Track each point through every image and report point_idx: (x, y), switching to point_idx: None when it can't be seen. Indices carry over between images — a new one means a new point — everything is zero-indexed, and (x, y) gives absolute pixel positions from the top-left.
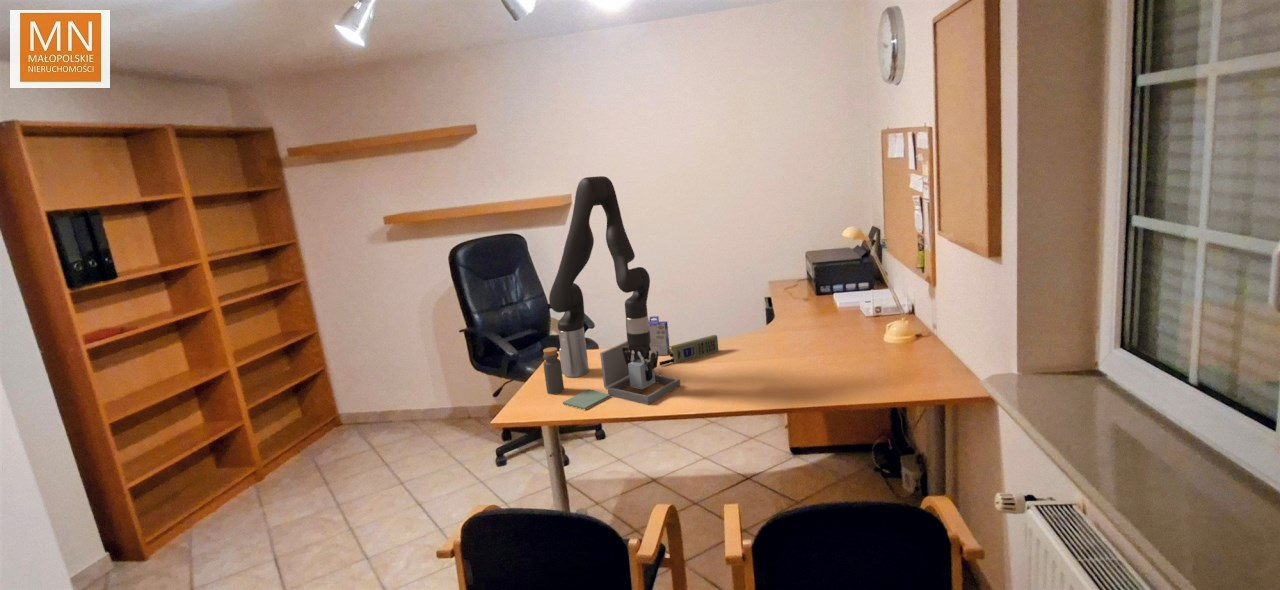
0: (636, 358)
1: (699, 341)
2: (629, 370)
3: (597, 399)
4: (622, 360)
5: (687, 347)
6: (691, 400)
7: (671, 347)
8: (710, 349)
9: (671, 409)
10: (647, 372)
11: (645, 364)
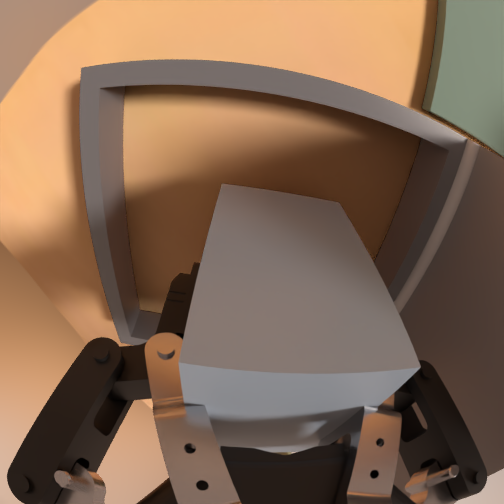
0: (321, 459)
1: None
2: (380, 295)
3: (457, 36)
4: (454, 381)
5: None
6: (7, 215)
7: (288, 453)
8: None
9: (3, 101)
10: (181, 323)
11: (167, 399)
